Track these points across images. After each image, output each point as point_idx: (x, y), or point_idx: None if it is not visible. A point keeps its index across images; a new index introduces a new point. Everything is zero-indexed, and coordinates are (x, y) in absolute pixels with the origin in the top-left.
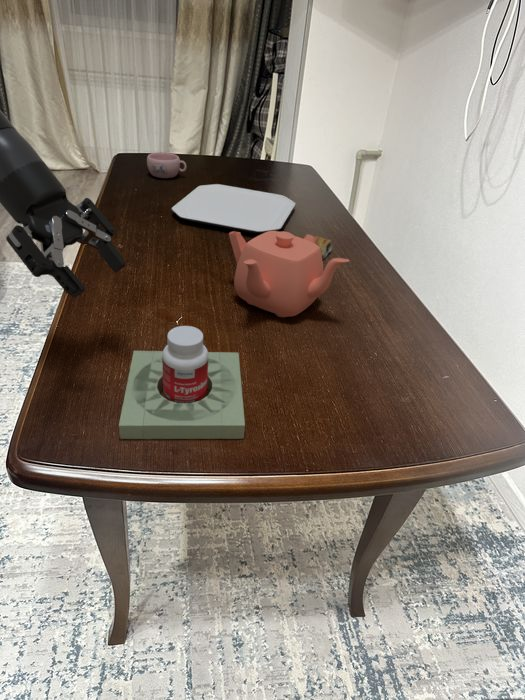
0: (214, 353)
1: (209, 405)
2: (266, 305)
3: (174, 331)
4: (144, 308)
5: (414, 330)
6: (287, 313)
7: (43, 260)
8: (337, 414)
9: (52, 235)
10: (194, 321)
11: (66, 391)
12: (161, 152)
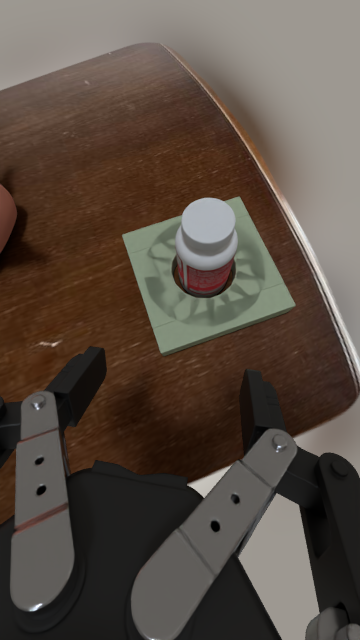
0: (133, 258)
1: None
2: (5, 231)
3: (205, 236)
4: None
5: (11, 106)
6: (15, 209)
7: (341, 481)
8: (172, 149)
9: (240, 539)
10: (47, 323)
11: None
12: None
